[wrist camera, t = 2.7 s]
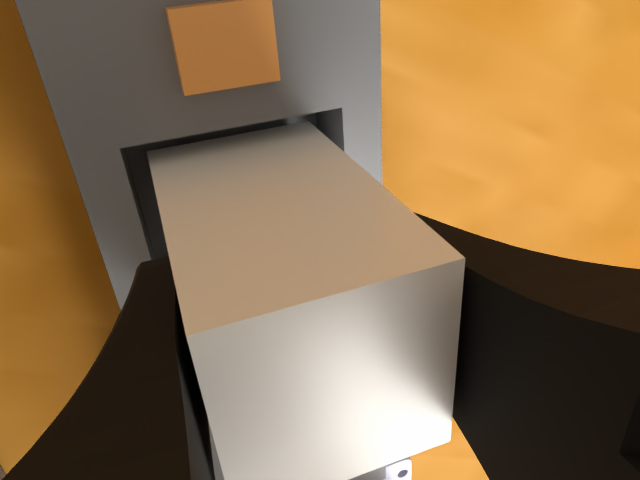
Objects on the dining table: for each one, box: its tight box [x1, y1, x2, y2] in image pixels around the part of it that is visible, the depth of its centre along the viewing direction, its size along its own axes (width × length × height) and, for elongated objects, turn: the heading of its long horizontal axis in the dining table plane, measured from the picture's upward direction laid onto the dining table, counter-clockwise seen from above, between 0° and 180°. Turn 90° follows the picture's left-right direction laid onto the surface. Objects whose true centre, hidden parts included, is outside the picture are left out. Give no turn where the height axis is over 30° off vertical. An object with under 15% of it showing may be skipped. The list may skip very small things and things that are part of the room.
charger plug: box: [147, 121, 465, 480], centre depth 11 cm, size 4×4×7 cm
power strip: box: [15, 0, 386, 480], centre depth 16 cm, size 18×7×3 cm, turn 4°
